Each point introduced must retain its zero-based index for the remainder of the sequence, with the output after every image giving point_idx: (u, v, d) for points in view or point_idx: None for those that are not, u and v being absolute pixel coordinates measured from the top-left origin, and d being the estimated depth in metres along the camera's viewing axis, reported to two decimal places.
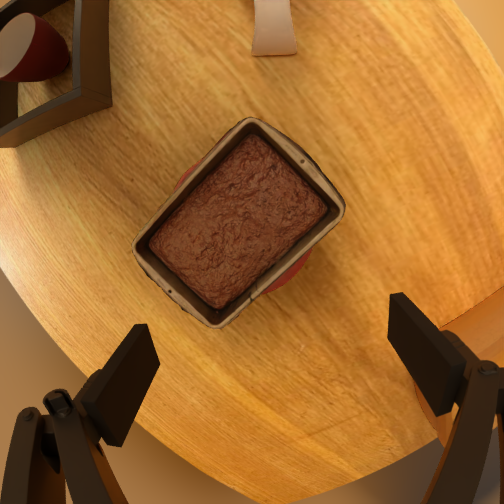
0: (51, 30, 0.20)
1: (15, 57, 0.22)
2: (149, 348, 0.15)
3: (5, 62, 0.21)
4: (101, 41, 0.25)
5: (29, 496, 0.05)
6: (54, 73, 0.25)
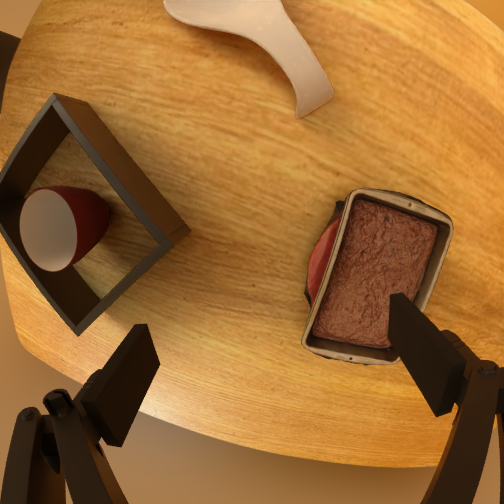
0: (80, 193, 0.26)
1: (51, 234, 0.28)
2: (149, 348, 0.15)
3: (45, 245, 0.27)
4: (138, 175, 0.30)
5: (29, 496, 0.05)
6: (106, 229, 0.31)
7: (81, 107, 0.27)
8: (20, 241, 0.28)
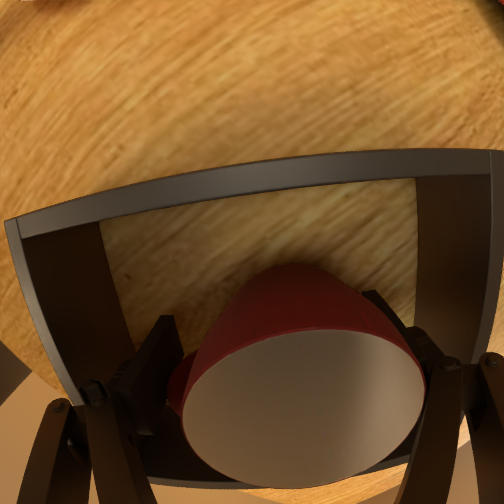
0: (268, 287, 0.10)
1: (279, 409, 0.13)
2: (175, 338, 0.16)
3: (298, 435, 0.12)
4: None
5: (50, 490, 0.05)
6: None
7: None
8: None
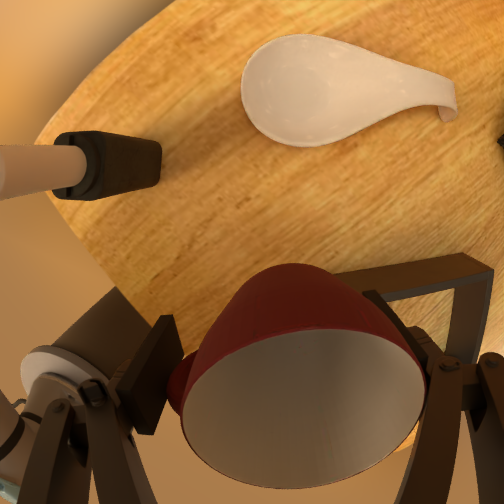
0: (268, 287, 0.10)
1: (279, 409, 0.13)
2: (175, 338, 0.16)
3: (298, 434, 0.12)
4: (418, 267, 0.31)
5: (50, 490, 0.05)
6: None
7: None
8: None
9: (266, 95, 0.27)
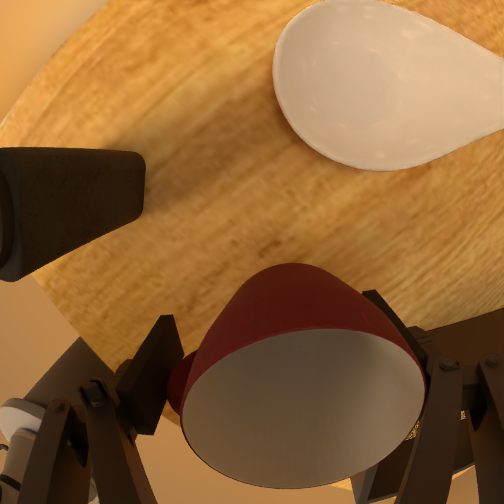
0: (267, 287, 0.10)
1: (279, 409, 0.13)
2: (175, 338, 0.16)
3: (298, 434, 0.12)
4: (486, 326, 0.20)
5: (50, 490, 0.05)
6: None
7: None
8: None
9: (310, 84, 0.17)
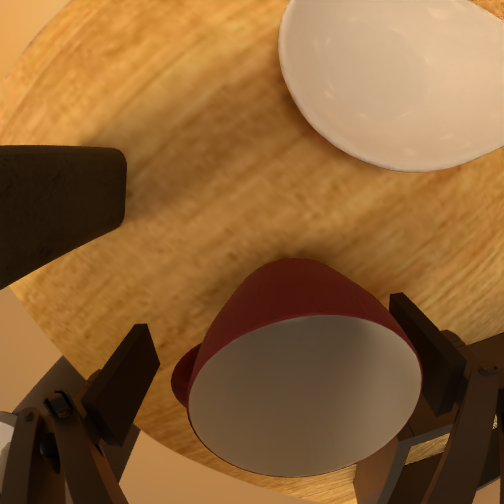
0: (270, 278, 0.11)
1: (281, 400, 0.14)
2: (149, 348, 0.15)
3: (300, 425, 0.12)
4: None
5: (29, 496, 0.05)
6: None
7: None
8: None
9: (324, 65, 0.13)
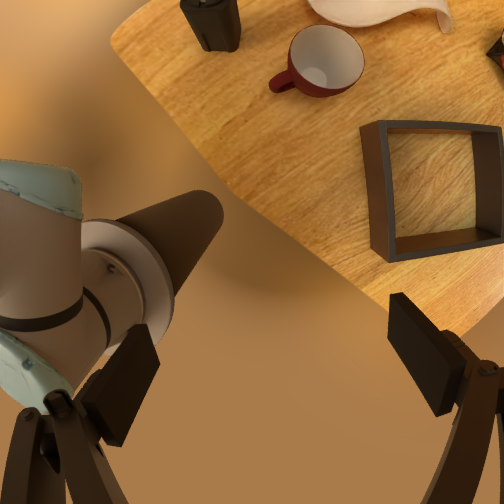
0: None
1: None
2: (149, 348, 0.15)
3: None
4: None
5: (29, 496, 0.05)
6: None
7: None
8: (434, 245, 0.35)
9: None
